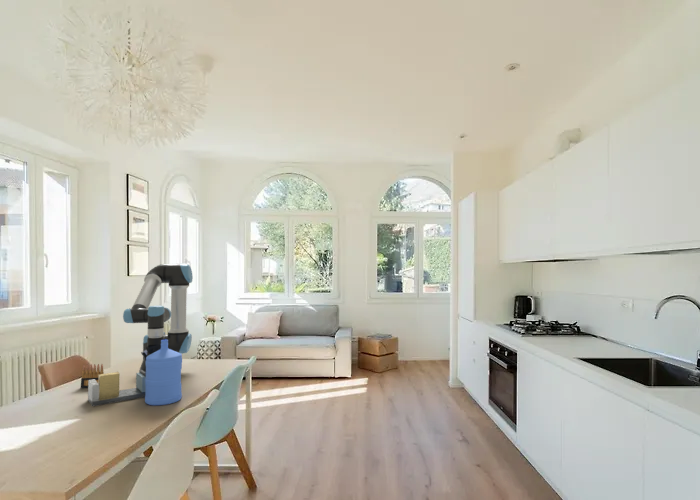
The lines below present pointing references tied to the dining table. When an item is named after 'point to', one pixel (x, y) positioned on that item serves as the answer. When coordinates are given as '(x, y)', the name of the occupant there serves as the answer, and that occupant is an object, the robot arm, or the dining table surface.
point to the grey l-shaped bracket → (123, 395)
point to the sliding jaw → (141, 380)
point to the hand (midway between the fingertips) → (154, 384)
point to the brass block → (108, 384)
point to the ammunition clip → (90, 374)
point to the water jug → (163, 376)
